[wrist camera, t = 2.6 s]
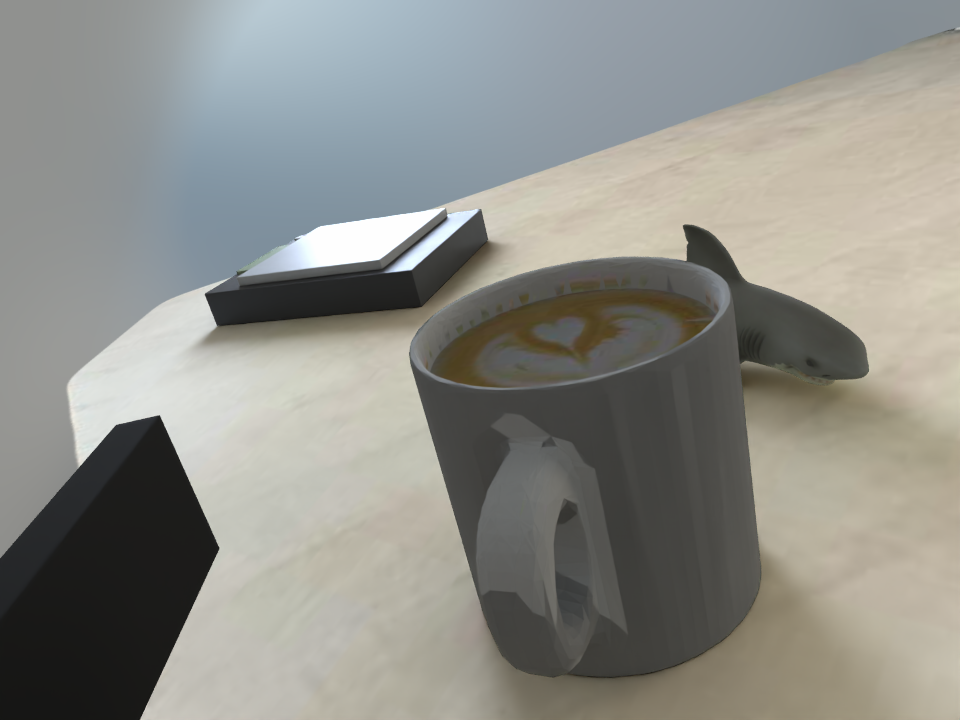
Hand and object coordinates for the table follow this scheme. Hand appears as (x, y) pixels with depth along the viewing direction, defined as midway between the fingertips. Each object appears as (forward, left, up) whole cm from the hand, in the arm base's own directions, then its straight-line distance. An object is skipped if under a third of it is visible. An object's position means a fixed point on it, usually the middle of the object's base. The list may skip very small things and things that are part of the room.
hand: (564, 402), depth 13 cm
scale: (-34, +47, -13) cm, 59 cm away
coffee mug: (-4, +9, -13) cm, 16 cm away
